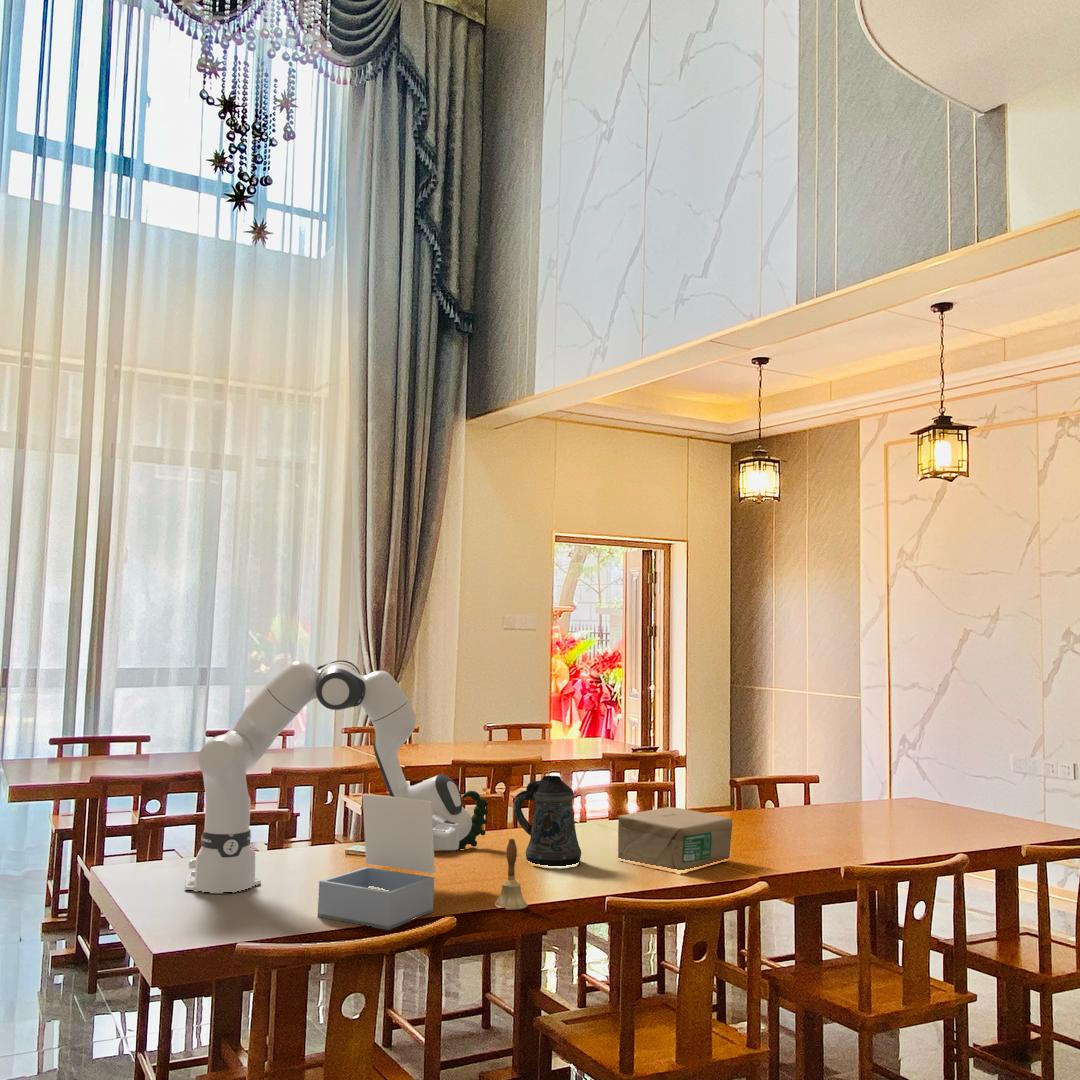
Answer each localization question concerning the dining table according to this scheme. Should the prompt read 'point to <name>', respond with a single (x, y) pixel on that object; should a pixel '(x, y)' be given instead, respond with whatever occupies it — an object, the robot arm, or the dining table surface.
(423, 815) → the lid
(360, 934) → the dining table surface
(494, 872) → the dining table surface
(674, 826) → the paper package
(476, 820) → the toy figurine
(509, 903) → the hand bell
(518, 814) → the beer stein
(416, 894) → the box
